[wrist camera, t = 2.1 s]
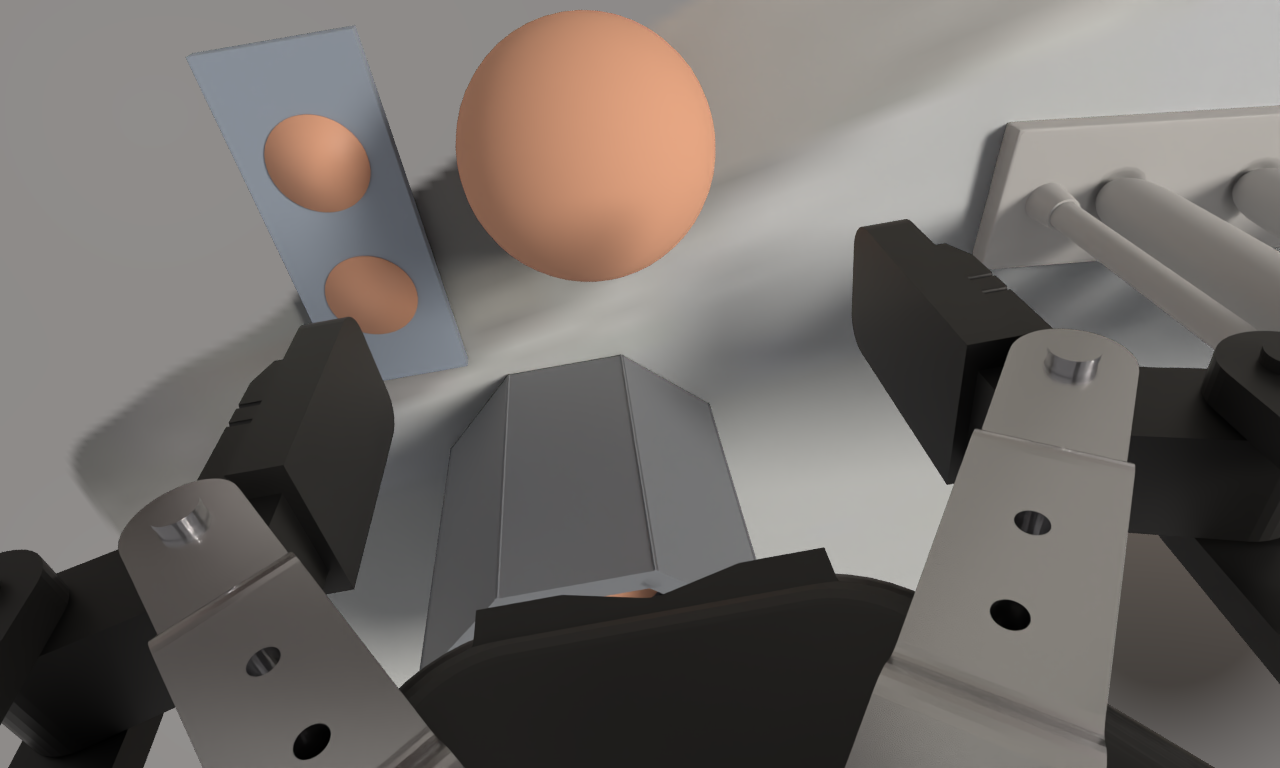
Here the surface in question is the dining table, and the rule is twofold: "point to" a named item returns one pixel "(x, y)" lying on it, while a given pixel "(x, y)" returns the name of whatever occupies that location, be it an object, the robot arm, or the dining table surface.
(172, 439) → the dining table surface
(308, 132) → the card
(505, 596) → the tube
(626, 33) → the ball
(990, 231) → the test tube rack
